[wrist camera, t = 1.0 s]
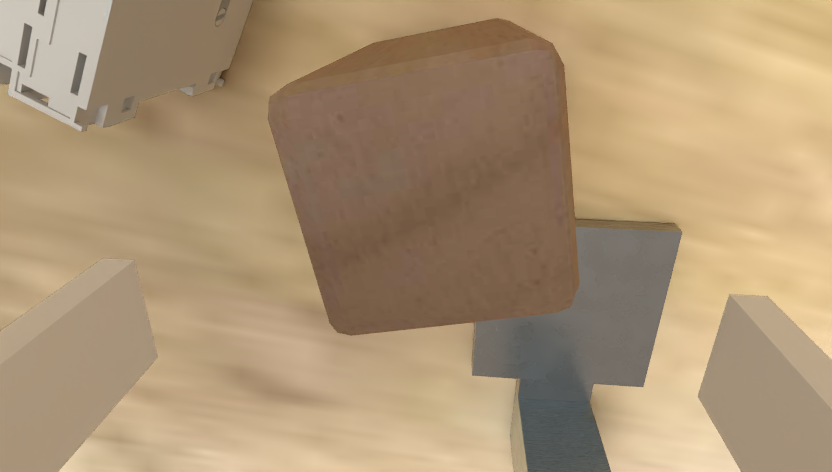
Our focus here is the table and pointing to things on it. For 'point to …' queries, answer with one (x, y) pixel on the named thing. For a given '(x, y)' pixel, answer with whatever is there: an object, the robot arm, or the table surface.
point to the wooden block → (434, 179)
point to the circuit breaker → (114, 53)
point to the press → (581, 344)
